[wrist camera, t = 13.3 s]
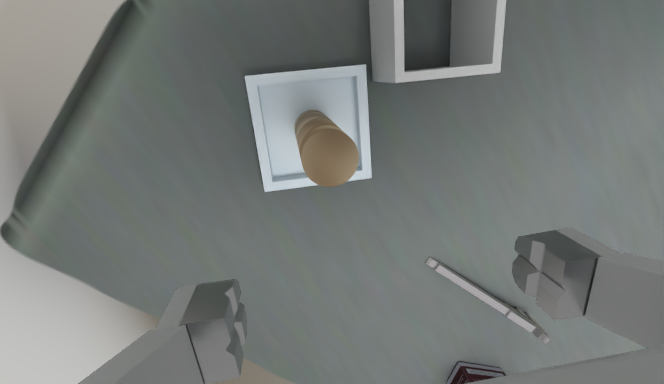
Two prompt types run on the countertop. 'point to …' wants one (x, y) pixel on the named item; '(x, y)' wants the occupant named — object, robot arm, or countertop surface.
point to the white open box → (465, 42)
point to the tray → (290, 102)
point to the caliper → (492, 301)
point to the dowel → (325, 149)
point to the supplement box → (473, 373)
